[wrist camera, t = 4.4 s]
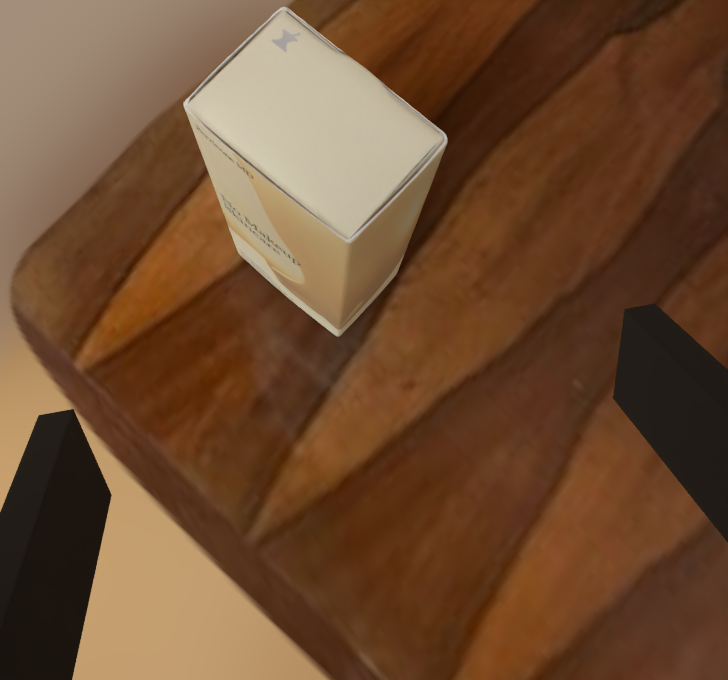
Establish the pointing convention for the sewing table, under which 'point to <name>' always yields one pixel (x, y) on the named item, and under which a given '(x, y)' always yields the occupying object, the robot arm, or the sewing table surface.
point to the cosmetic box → (314, 167)
